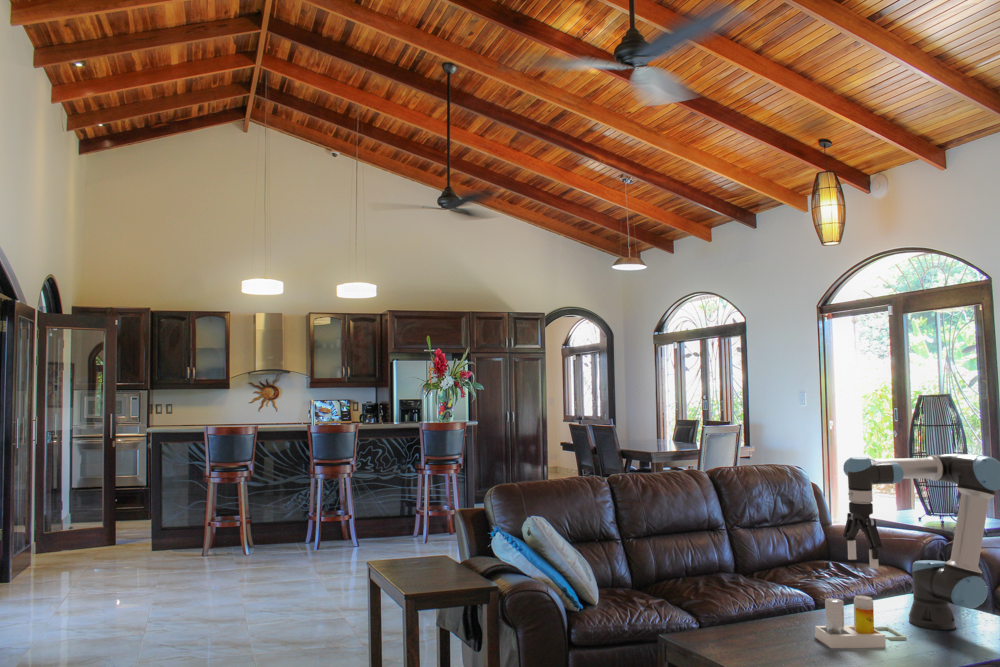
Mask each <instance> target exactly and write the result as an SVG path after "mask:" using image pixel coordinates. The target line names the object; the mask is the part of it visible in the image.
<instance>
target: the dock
mask: <svg viewBox="0 0 1000 667" xmlns="http://www.w3.org/2000/svg"><path fill="white" fill-rule="evenodd" d="M814 629H815V630H814V631H815V632H814V634H815V636H814V637H815V638H816V639H817V640H819V641H820V642H822V644H824V645H825V646H827V647H829V648H830V649H859V648H860V649H862V648H863V649H864V648H869V649H871V648H873V649H874V648H886V647H887V644H886V641H887V639H885V637H886V634H884V633H882V632H881V631H880V630H875V629H874V634H859V633H857V632H856V631H854V624H852V625H851V624H850V625H849V624H848V625H846V624H844V634H831V635H830V634H828V633H827V632H826V625H815V626H814Z"/></svg>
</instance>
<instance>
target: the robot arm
mask: <svg viewBox="0 0 1000 667" xmlns="http://www.w3.org/2000/svg"><path fill="white" fill-rule="evenodd" d="M843 473H844V475H845V476H846V477H847V483H848V485H847V486H848V493H847V494H848V500H849V503H848V512H847V514H846V517H847V518H846V523H845V525H844V526H845V527H844V529H843V535H842V536H843V538H845V540H846V541H847V559H848V560H851V561H852V560H857V541H856V537H857V535H858V532H859V531H860V530H861V532H862V533H864V536H865V538H866V540H867V543H868V545H869V547H868V558H869V569H870V570H878V569H879V567H880V566H879V550H880V549H883V544H882V540H881V538H880V537H881V536H880V533H879V530H878V526H877V519H876V518H873V519H872V518H870V517H871V515H873V513H874V509H873V508H874V504H873V503H872V502H873V499H874V498H873V485H893V484H894V485H895V484H899V483H901V482H902V481H903V480H905V479H906V480H907V479H908V480H909V479H910V480H911V479H929V480H930V481H932V482H933V481H934V482H937V481H939V482H946V483H951V484H955V485H957V488H956V489H957V490H958V491H959V493H960V499H959V506H958V511H957V517H956V524H955V529H954V534H953V535H954V537H953V542H952V548H951V554H950V559H948V560H947V561H944V560H943V561H942V560H933V559H932V560H928V559H927V560H925V559H924V560H915V561H914V562H913V563H912V570H911V573H912V574H911V575H912V594H913V601H912V604H911V607H910V610H909V613H908V622H910V623H911V624H912V625H915V626H917V627H921V628H925V629H930V630H937V631H938V630H939V631H941V630H942V631H946V630H947V631H948V630H954V629H955V628H956V619H955V617H954V613H953V611H952V609H951V605H950V604H952V605H954V606H955V605H956V606H957V607H959V608H960V607H961V608H965V609H968V610H969V609H970V610H971V609H972V610H973V609H976V608H978V607H979V606H981V605H983V603H984V602H985V601H986V599H987V597H988V594H989V593H988V592H989V590H988V589H989V587H988V585H987V582H986V581H985V580H984V579H983V578H982V577H983V571H982V569H980V567H979V564H980V557H981V551H982V545H983V539H984V533H985V526H986V520H987V515H988V507H989V502H990V500H991V499H993V498H994V497H995V495H996V492H997V491H999V490H1000V461H999V460H998V459H996V458H995V457H992V456H987V455H982V454H980V455H979V454H967V453H961V452H959V453H958V452H957V453H943V454H930V455H928V456H926V457H918V458H917V457H914V458H913V457H905V458H901V457H900V458H869V457H863V456H862V457H861V456H851V457H849V458H848V459H846V460H845V461H844V463H843Z"/></svg>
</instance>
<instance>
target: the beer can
mask: <svg viewBox="0 0 1000 667" xmlns="http://www.w3.org/2000/svg"><path fill="white" fill-rule="evenodd" d="M874 615H875V614H874V600H873V598H872V597H871V596H869V595H864V594H860V595H859V594H857V595H855V596H854V598H853V625H854V631H856V632H857V633H859V634H874V627H875V624H874V623H875V622H874V620H875V618H874Z"/></svg>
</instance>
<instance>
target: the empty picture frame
mask: <svg viewBox="0 0 1000 667" xmlns="http://www.w3.org/2000/svg"><path fill="white" fill-rule="evenodd" d="M874 629H875V630H877V631H887V632H890V633H892V634H894V635H895V636H885V639H886V640H888V641H907V638H908V637H907V636H905V635H903V634H901V633H900V632H898V631H897V630H894V629H893V628H891V627H889V626H874Z"/></svg>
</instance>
